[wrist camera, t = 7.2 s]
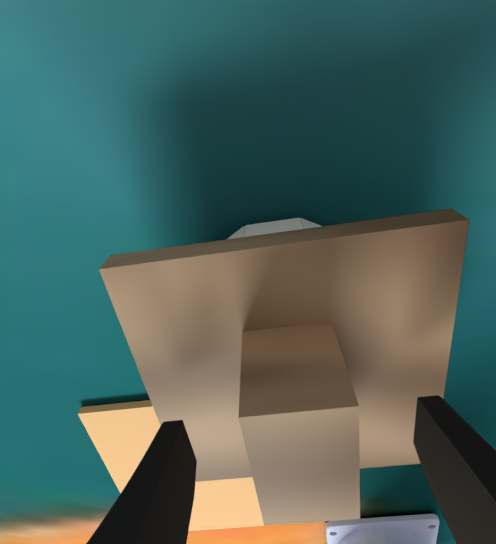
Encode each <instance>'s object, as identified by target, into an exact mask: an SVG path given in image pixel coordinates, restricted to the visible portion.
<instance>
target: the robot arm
mask: <svg viewBox="0 0 496 544" xmlns="http://www.w3.org/2000/svg"><path fill="white" fill-rule="evenodd" d="M413 443H414V446H415V449H416V452H417V455H418V458H419V461H420V463H421V466H422V469H423V472H424V474H425V477H426V480H427V482H428V484H429V486H430V488H431V490H432V492H433V495H434V497H435V499H436V501H437V503H438V505H439V507H440V509H441V511H442V514H443V516H444V518H445V520H446V522H447V524H448V526H449V528H450V530H451V532H452V535H453V537H454V539H455V541H456V543H457V544H496V450H495V449H494V448H492V447H491V446H490V445H489V444H488V443H487V442H486V441H485V440H484V439H483V438H482V437H481V436H480V435H479V434H478V433H477V432H476V431H475V430H474V429H473V428H472V427H471V426H470V425H469V424H468V423H467V422H466V421H465V420H464V419H463V418H461V417H460V415H459V414H458V413H457V412H456V411H455V410H454V409H453V408H452V407H451V406H450V405H449V404H448V403H447V402H446V401H445V400H444V399H443V398H442V397H440V396H439V395H435V396H425V397H417V407H416V418H415V428H414V439H413ZM196 466H197V460H196V457H195V454H194V451H193V448H192V446H191V443H190V440H189V437H188V434H187V431H186V428H185V425H184V423H183V420H176V421H166V422H163V423H162V424H161V426H160V428H159V430H158V432H157V433H156V435H155V437H154V439H153V441H152V442H151V444H150V446H149V448H148V449H147V451H146V453H145V455H144V456H143V458H142V460H141V461H140V463H139V465H138V467H137V468H136V470H135V471H134V473H133V475H132V476H131V478H130V480H129V481H128V483H127V484H126V486H125V488H124V489H123V491H122V492H121V494H120V496H119V497H118V499H117V500H116V502H115V503H114V505H113V506H112V508H111V509H110V511H109V512H108V514H107V515H106V517H105V518H104V520H103V521H102V522H101V524H100V525H99V527H98V528H97V530H96V531H95V533H94V534H93V535H92V537H91V538H90V540H89V541H88V542H87V544H186V541H187V535H188V530H189V524H190V519H191V513H192V507H193V501H194V494H195V481H196ZM439 523H440V521H439V518H438V516H437V515H436V514H418V515H404V516H389V517H375V518H361V519H351V520H337V521H328V522H327V523H326V524H325V529H326V540H327V544H436V540H437V534H438V528H439Z"/></svg>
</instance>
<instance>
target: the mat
mask: <svg viewBox="0 0 496 544" xmlns="http://www.w3.org/2000/svg"><path fill="white" fill-rule="evenodd" d="M78 415H79V417H80V419H81V421H82V423H83V425H84V426H85V428H86V430H87V432H88V434H89V436H90V438H91V439H92V441H93V443H94V445H95V447H96V449H97V450H98V452H99V454H100V456H101V458H102V460H103V462H104V463H105V465H106V467H107V469H108V471H109V473H110V474H111V476H112V478H113V480H114V482H115V484H116V486H117V487H118V489H119V491H120V493H121V492H122V491H123V489H124V488H125V486H126V484H127V483H128V481H129V480H130V478H131V476H132V475H133V473H134V471H135V470H136V468H137V467H138V465H139V463H140V461H141V460H142V458H143V456H144V455H145V453H146V451H147V449H148V448H149V446H150V444H151V442H152V441H153V439H154V437H155V435H156V433H157V432H158V430H159V428H160V423H159V421H158V418H157V416H156V413H155V411H154V408H153V406H152V403H151V400H145V401H135V402H126V403H116V404H106V405H96V406H86V407H81V409H80V411H79V413H78ZM308 523H309V522H308ZM279 525H280V524H279ZM252 526H264V523H263V518H262V514H261V510H260V506H259V502H258V497H257V493H256V489H255V485H254V481H253V477H249V478H237V479H224V480H212V481H200V482H195V494H194V501H193V507H192V513H191V519H190V524H189V530H188V531H194V530H209V529H223V528H237V527H252ZM265 526H266V525H265Z"/></svg>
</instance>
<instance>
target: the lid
mask: <svg viewBox="0 0 496 544" xmlns="http://www.w3.org/2000/svg"><path fill="white" fill-rule="evenodd" d="M468 224H469V219H467V218H466V217H464V216H463V215H461V214H459V213H458V212H456V211H455V210H453V209H446V210H438V211H431V212H424V213H416V214H409V215H402V216H394V217H387V218H380V219H372V220H365V221H358V222H351V223H343V224H336V225H329V226H321V227H314V228H307V229H299V230H292V231H285V232H277V233H270V234H263V235H256V236H248V237H241V238H234V239H226V240H219V241H212V242H204V243H197V244H190V245H182V246H175V247H168V248H161V249H153V250H146V251H139V252H131V253H124V254H117V255H110V256H109V258H108V259H107V260H106V261H105V263H104V264H103V265H102V266H101V267H100V269H99V271H100V273H101V276H102V278H103V281H104V283H105V286H106V288H107V291H108V293H109V296H110V299H111V301H112V304H113V306H114V309H115V311H116V314H117V316H118V319H119V321H120V324H121V327H122V329H123V332H124V334H125V337H126V339H127V342H128V344H129V347H130V350H131V352H132V355H133V357H134V360H135V362H136V365H137V367H138V370H139V372H140V375H141V378H142V380H143V383H144V385H145V388H146V390H147V393H148V395H149V398H150V400H151V403H152V406H153V408H154V411H155V413H156V416H157V418H158V421H159V423H160V426H161V424H162V423H163V422H166V421H176V420H183V423H184V425H185V428H186V431H187V434H188V437H189V440H190V443H191V446H192V448H193V451H194V454H195V457H196V460H197V466H196V481H195V482H200V481H212V480H224V479H237V478H249V477H253V481H254V485H255V489H256V493H257V497H258V502H259V506H260V510H261V514H262V518H263V523H264V526H265V525H279V524H294V523H308V522H323V521H337V520H351V519H360V469H361V468H373V467H385V466H398V465H410V464H421V463H420V461H419V458H418V455H417V452H416V449H415V446H414V443H413V439H414V428H415V418H416V407H417V397H425V396H435V395H439V396H440V397H442V398H444V391H445V384H446V377H447V370H448V363H449V356H450V349H451V342H452V335H453V328H454V321H455V314H456V307H457V301H458V294H459V287H460V280H461V273H462V266H463V259H464V252H465V245H466V238H467V231H468Z"/></svg>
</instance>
